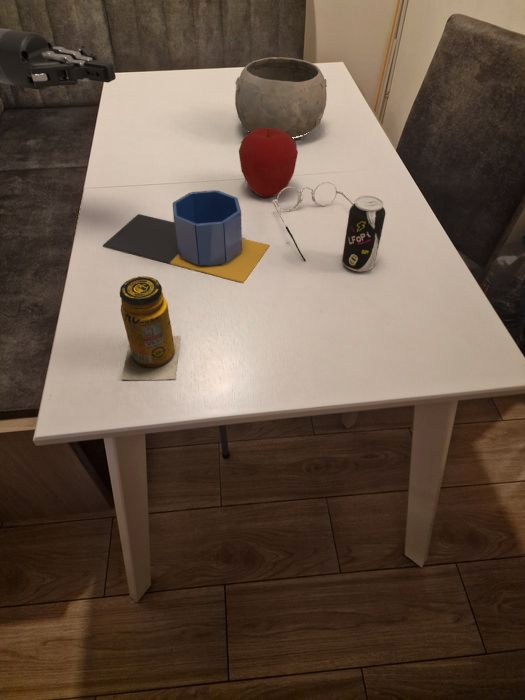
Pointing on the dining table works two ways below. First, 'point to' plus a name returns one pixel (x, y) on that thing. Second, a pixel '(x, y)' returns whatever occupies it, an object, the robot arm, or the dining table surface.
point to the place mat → (161, 245)
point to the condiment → (148, 331)
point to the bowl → (281, 95)
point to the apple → (267, 160)
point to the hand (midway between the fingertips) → (111, 73)
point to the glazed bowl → (208, 227)
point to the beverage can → (363, 233)
